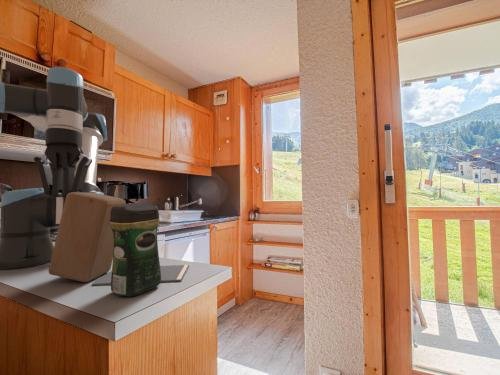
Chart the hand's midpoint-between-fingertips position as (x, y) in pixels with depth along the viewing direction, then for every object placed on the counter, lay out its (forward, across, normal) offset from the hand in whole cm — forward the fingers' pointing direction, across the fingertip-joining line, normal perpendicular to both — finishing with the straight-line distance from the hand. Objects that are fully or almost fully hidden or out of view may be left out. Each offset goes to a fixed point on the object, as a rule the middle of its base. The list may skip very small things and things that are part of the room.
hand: (62, 223), depth 62 cm
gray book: (+14, +20, +1) cm, 24 cm away
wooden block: (+13, +4, +1) cm, 14 cm away
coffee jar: (+14, +21, -9) cm, 27 cm away
